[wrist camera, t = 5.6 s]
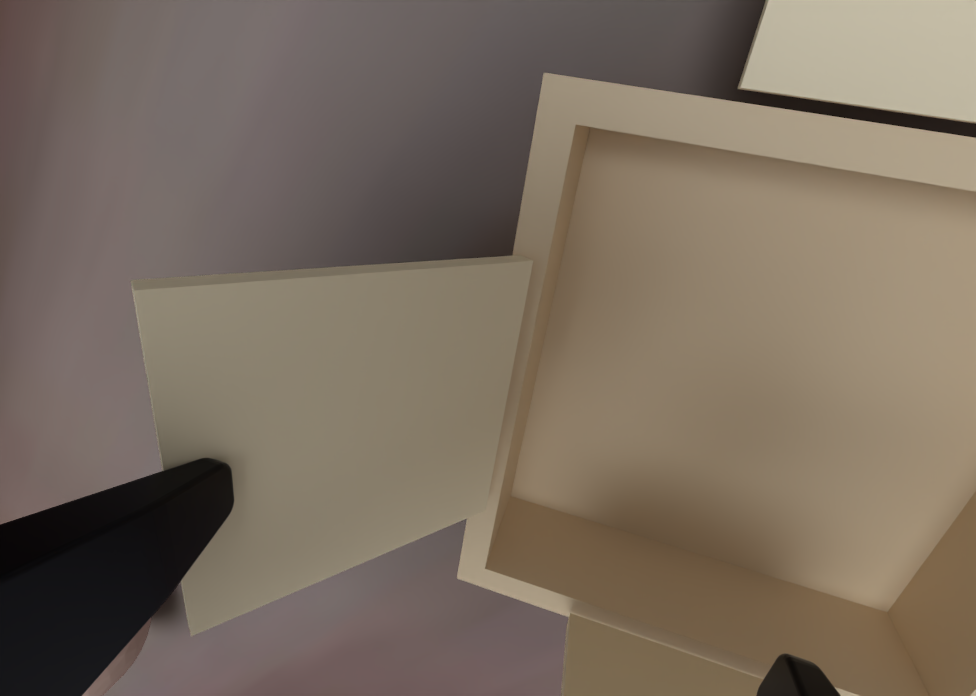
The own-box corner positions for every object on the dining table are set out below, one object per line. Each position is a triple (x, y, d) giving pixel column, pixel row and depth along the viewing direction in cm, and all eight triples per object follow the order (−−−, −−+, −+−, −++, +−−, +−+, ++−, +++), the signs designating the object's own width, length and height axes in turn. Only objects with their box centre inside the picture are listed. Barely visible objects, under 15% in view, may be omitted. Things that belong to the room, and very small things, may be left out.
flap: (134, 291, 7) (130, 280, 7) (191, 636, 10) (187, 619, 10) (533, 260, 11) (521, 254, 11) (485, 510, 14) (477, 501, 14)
